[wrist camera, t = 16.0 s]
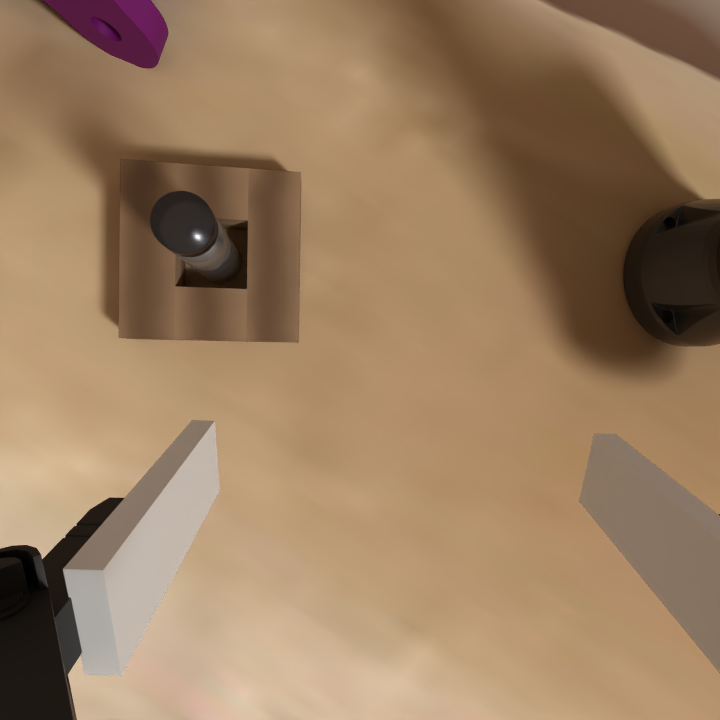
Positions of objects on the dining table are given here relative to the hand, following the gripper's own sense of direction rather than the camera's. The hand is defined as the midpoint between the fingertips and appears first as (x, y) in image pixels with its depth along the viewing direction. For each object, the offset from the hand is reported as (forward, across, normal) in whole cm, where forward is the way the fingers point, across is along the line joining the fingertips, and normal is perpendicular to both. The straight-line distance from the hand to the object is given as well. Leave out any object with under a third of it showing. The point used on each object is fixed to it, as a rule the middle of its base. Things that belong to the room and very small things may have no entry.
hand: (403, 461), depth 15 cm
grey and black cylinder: (+28, -15, +4) cm, 32 cm away
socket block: (+28, -15, +4) cm, 32 cm away
